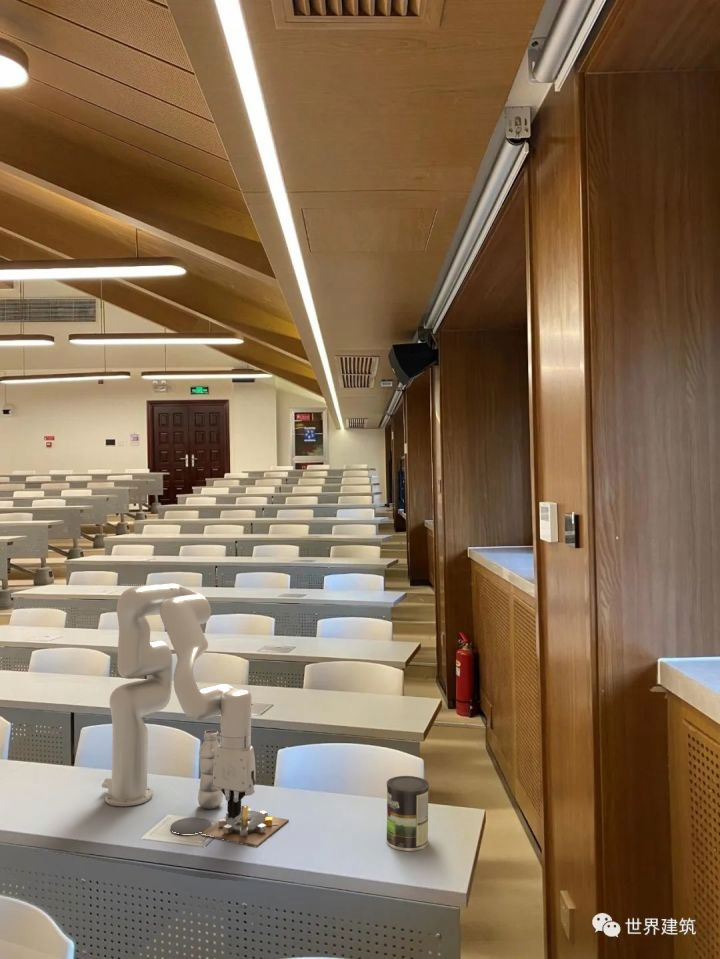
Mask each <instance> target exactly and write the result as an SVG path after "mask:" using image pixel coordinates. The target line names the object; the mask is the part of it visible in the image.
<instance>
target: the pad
mask: <svg viewBox="0 0 720 959" xmlns="http://www.w3.org/2000/svg"><path fill="white" fill-rule="evenodd" d="M211 826H212V822H211V820H209V819H207V818H205V817H199V816H193V817H191V816H190V817H184V818H180V819H178V820H175V821H174V822H172V823H171V825H170V828H171V829H170V831H171V830H172V831H173V832H176V833H179V834H195V833H199V832H203V831H205V830H206V829H208V828H209V827H211Z"/></svg>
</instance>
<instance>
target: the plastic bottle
mask: <svg viewBox="0 0 720 959" xmlns="http://www.w3.org/2000/svg"><path fill="white" fill-rule="evenodd" d="M217 734H219V731H218V730H216V729H208V730H205V731H204V734H203V739H204V741H203V743H202V744H201V746H200V747H199V750H198V759H199V771H200V780H199V789H198V794H197V800H198V804H199V806H200V807H201V808H202V809H209V810H210V809H216V808H218V807H220V806H221V805H222V804H223V799H224V794H223V792H222V791H219V790H217V789H216V788H215V786H214V785H213V767H214V759H215V754H216V750H217V746H218V745H220V741H219V739H217Z"/></svg>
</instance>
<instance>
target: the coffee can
mask: <svg viewBox="0 0 720 959" xmlns="http://www.w3.org/2000/svg"><path fill="white" fill-rule="evenodd" d="M429 788H430V783H429V782H428V780H426V779H424V778H422V777H418V776H413V775H399V776H394V777H391V778H389V779H388V780H387V781H386V840H385V843H386V844H387V845H388V846H389V847H391V849H394V850H396V851H402V852H417V851H420V850H423V849H425V848H426V847H428V845H429V838H428V837H429Z"/></svg>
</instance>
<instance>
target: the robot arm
mask: <svg viewBox="0 0 720 959" xmlns="http://www.w3.org/2000/svg"><path fill="white" fill-rule="evenodd" d="M116 614H117V621H118V640H117V641H118V642H117V643H118V644H117V645H118V646H117V663H116V664H117V666H116V667H117V671H118V674H119V675H120V677H121V678H124V679H127V680H128V679H129V680H134V679H139V678H143V677H146V679H142V680H136V681H132V682H128V683H123V684H121V685H119V686H118V687H116V688H115V689H113V691H112V692H111V694H110V695H109V710H110V715H111V723H112V744H111V745H112V750H111V754H112V755H111V761H112V762H111V777H105V779H104V781H103V782H102V784H101V787H102V788H104V789H107V791H108V792H107V793H106V795H105V796H104V797H105V798H104V800H105V803H107V804H108V805H110V806H112V807H113V806H114V807H131V806H138V805H141V804H143V803H146V802H148V801H150V800H151V799H152V798H153V795H154V794H153V790H152V788H150V787H148V766H149V763H148V762H149V761H148V760H149V731H148V727H147V725H146V723H145V722H144V720H143V716H145V715H148V714H149V715H150V714H153V713H156V712H157V713H158V712H159V711H160V712H161V711H162V710H164V709H165V708H166V707H167V706H168V705H169V704H170V701H171V696H172V685H173V688H174V691H175V695H176V697H177V699H178V703H179V704H180V707H181V709H182V710H183V713H184V715H186V717H187V718H189V720H192V721H195V722H197V721H198V722H199V721H204V720H207V719H210V718H214V717H217V716H220V731H219V732H220V733H218V734H217V740H218V741H219V743H220V745H218V746H217V750H216V754H215V759H214V767H213V785H214V786H215V788H216V789H217V790H219V791H222V792H223V796H224V798H225V800H226V801H227V808H226V811H227V813H228V817H229V818H231V817H232V818H236V817H237V816H238V815H240V813H241V811H242V799H244V797H245V796H246V797H247V796H252V795H253V794H255V788H254V787H255V785H256V780H257V779H256V777H257V776H256V775H257V774H256V772H257V771H256V758H255V751H254V747H253V746H252V744H251V740H252V694H251V692H250V691H249V690H246V689H240V688H235V687H233V686H231V685H230V684H227V683H219V684H215V685H208V686H205V687H201V688H199V687H198V685H197V683H196V682H197V681H196V678H195V677H194V664H195V662H196V660H197V659H199V657H201V656H202V655H203V654H204V653H205V652H206V651H207V649H208V647H209V643H208V640H207V638H206V636H205V634H204V631H203V629H202V627H201V625H203V624H206V623H207V622H208V621H209V619H210V618H211V614H212V608H211V605H210V602H209V600H208V599H207V598H206V597H205V596H204V595H203V594H201V593H199V592H197V591H195V590H192V589H190V588H187V587H185V586H182V585H180V584H178V583H175V582H174V583H173V582H170V583H169V582H168V583H157V584H155V583H154V584H143V585H137V586H132V587H129V588H128V589H126V590H124V591H123V592H122V593H121V594H120V596H119V598H118V601H117V604H116ZM157 615H159V616H160V619H161V622H162V623H163V626H164V628H165V630H166V634H167V635H168V638H169V641H170V643H171V645H172V647H173V650H174V652H175V654H176V658H177V660H176V664H175V667H174V674H173V662H174V661H173V653H172V650H171V648H170V646H169V644H167V642H165V641H163V640H160V639H159V640H157V639H154V640H151V626H150V623H149V621H148V620H147V618H146V617H147V616H157ZM172 679H173V680H172ZM172 681H173V684H172Z"/></svg>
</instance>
